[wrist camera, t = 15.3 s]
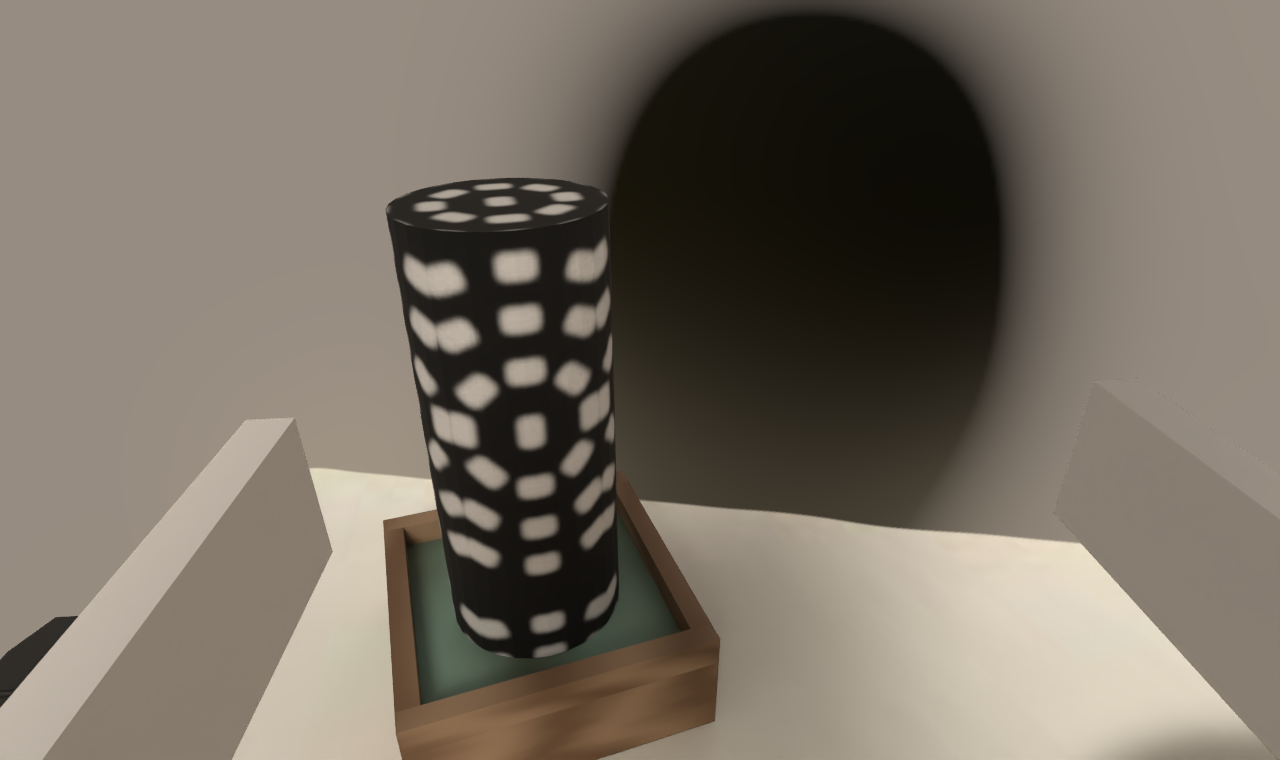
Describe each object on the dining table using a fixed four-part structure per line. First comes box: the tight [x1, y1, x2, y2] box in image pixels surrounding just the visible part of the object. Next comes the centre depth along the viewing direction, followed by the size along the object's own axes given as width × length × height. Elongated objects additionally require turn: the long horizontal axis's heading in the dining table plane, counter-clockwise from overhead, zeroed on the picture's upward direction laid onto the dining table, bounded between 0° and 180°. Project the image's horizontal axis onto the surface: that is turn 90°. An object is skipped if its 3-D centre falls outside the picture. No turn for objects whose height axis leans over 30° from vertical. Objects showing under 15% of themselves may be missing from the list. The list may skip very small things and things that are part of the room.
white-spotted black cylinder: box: [386, 178, 619, 658], centre depth 32 cm, size 8×8×20 cm
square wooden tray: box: [383, 472, 720, 760], centre depth 37 cm, size 14×14×6 cm
